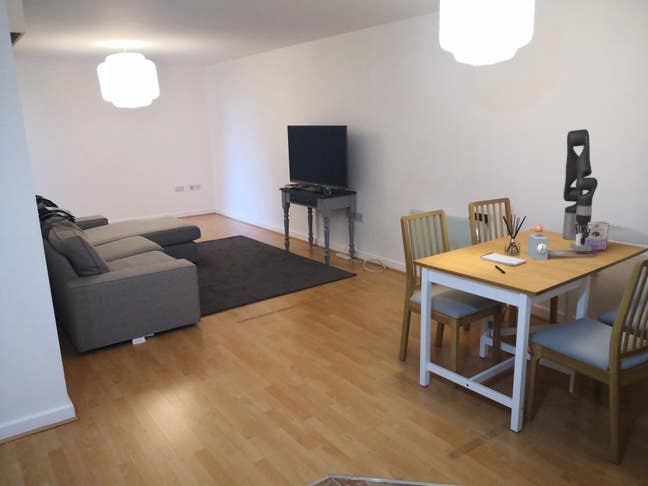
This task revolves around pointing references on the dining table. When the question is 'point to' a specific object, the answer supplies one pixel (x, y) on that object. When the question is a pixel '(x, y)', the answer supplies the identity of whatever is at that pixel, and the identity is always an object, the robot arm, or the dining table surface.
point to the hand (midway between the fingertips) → (581, 243)
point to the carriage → (578, 246)
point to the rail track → (569, 254)
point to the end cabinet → (537, 246)
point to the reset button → (538, 228)
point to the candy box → (598, 235)
